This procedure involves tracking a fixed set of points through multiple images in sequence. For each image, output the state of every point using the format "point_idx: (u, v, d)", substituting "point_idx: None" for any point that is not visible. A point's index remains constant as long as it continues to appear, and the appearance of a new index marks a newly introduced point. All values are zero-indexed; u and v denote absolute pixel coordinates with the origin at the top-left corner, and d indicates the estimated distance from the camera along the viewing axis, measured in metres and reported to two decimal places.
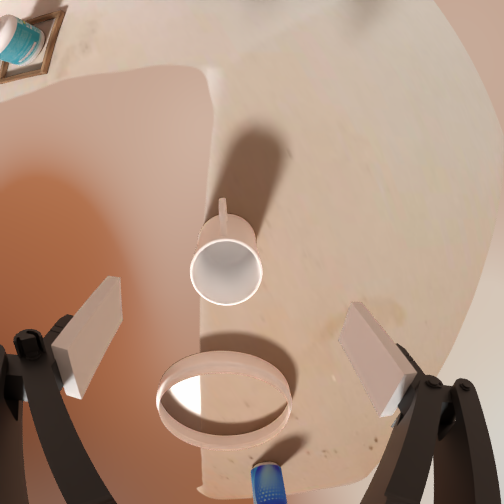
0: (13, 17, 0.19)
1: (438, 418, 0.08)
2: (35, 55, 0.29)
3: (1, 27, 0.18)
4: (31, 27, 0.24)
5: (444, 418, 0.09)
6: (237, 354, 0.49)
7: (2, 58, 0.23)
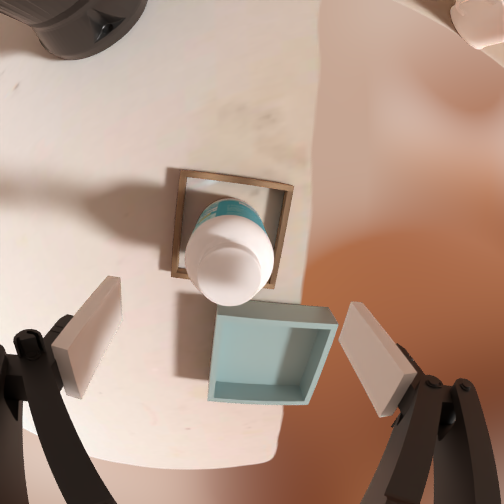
0: (203, 225, 0.23)
1: (438, 418, 0.08)
2: (254, 209, 0.32)
3: (228, 241, 0.22)
4: (212, 209, 0.28)
5: (444, 418, 0.09)
6: None
7: None
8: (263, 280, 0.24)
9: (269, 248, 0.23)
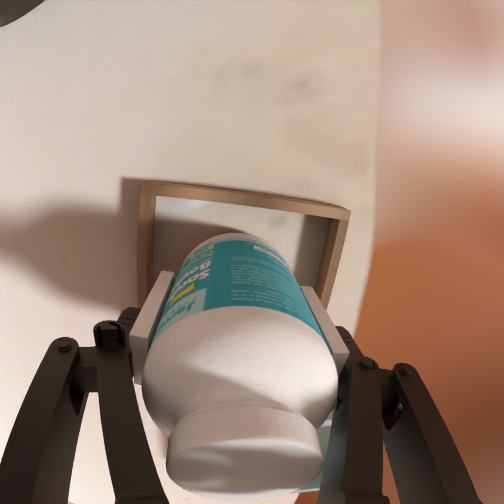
0: (173, 338, 0.09)
1: (379, 400, 0.09)
2: (280, 253, 0.18)
3: (239, 391, 0.08)
4: (200, 265, 0.13)
5: (384, 403, 0.10)
6: None
7: None
8: None
9: (334, 380, 0.09)
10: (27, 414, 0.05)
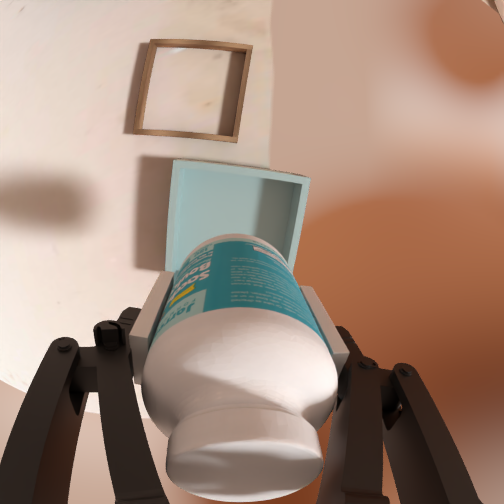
0: (173, 339, 0.09)
1: (379, 400, 0.09)
2: None
3: (239, 393, 0.08)
4: (200, 266, 0.13)
5: (384, 403, 0.10)
6: None
7: None
8: None
9: (334, 381, 0.09)
10: (27, 414, 0.05)
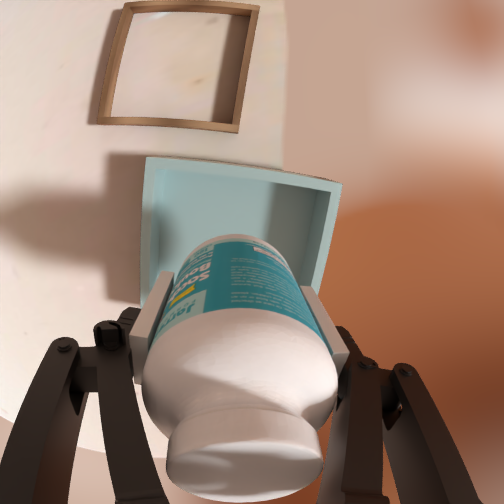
0: (173, 340, 0.09)
1: (379, 400, 0.09)
2: (280, 254, 0.18)
3: (239, 394, 0.08)
4: (200, 267, 0.13)
5: (384, 403, 0.10)
6: None
7: None
8: None
9: (334, 382, 0.09)
10: (27, 414, 0.05)
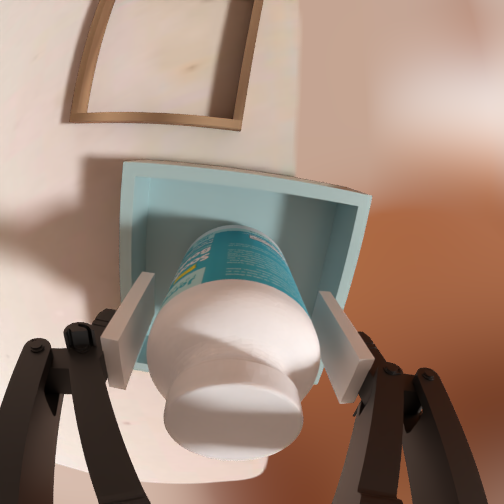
0: (175, 305, 0.10)
1: (402, 406, 0.08)
2: None
3: (229, 349, 0.09)
4: (201, 251, 0.15)
5: (407, 407, 0.10)
6: None
7: None
8: None
9: (315, 347, 0.11)
10: (6, 417, 0.05)
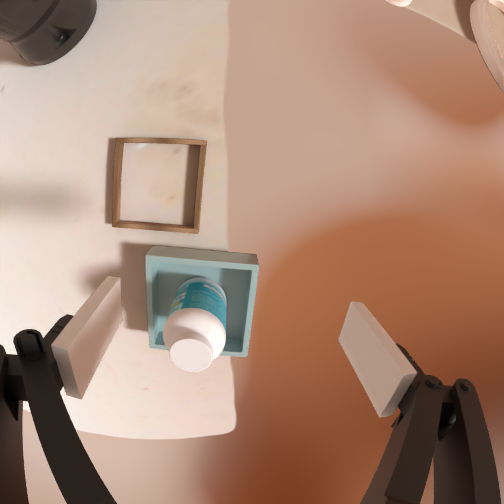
0: (172, 317, 0.31)
1: (438, 418, 0.08)
2: (218, 285, 0.40)
3: (189, 330, 0.30)
4: (182, 293, 0.36)
5: (444, 418, 0.09)
6: (472, 17, 0.29)
7: None
8: (217, 351, 0.32)
9: (220, 331, 0.32)
10: None
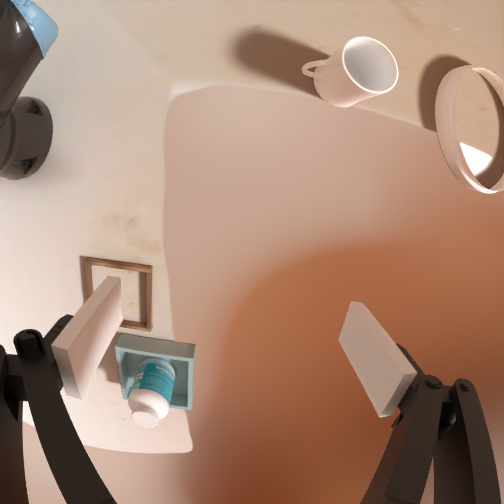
0: (132, 394, 0.42)
1: (438, 418, 0.08)
2: (167, 364, 0.51)
3: (143, 404, 0.41)
4: (141, 373, 0.47)
5: (444, 418, 0.09)
6: (437, 98, 0.40)
7: (170, 397, 0.46)
8: (163, 415, 0.43)
9: (163, 405, 0.43)
10: None
